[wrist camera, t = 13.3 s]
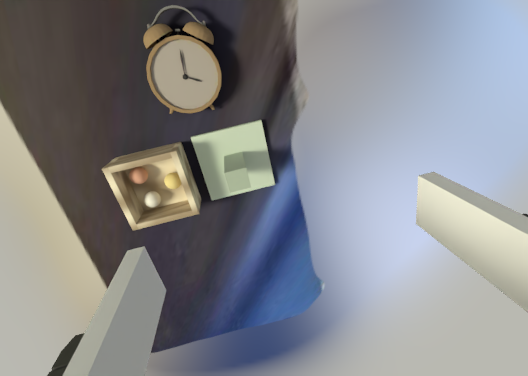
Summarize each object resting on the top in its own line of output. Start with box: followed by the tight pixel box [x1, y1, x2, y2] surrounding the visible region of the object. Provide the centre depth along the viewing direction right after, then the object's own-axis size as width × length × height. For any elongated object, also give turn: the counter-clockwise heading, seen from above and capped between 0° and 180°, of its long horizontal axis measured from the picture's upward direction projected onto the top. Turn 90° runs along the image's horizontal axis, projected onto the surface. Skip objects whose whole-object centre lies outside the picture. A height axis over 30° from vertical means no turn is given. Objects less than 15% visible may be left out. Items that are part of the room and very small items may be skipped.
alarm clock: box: [144, 5, 221, 114], centre depth 42 cm, size 11×5×15 cm
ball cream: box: [143, 191, 161, 207], centre depth 49 cm, size 3×3×3 cm
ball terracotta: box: [129, 167, 148, 184], centre depth 47 cm, size 3×3×3 cm
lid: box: [191, 120, 275, 200], centre depth 47 cm, size 13×13×10 cm
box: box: [102, 142, 201, 230], centre depth 48 cm, size 12×12×6 cm
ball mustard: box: [164, 173, 181, 189], centre depth 48 cm, size 3×3×3 cm
